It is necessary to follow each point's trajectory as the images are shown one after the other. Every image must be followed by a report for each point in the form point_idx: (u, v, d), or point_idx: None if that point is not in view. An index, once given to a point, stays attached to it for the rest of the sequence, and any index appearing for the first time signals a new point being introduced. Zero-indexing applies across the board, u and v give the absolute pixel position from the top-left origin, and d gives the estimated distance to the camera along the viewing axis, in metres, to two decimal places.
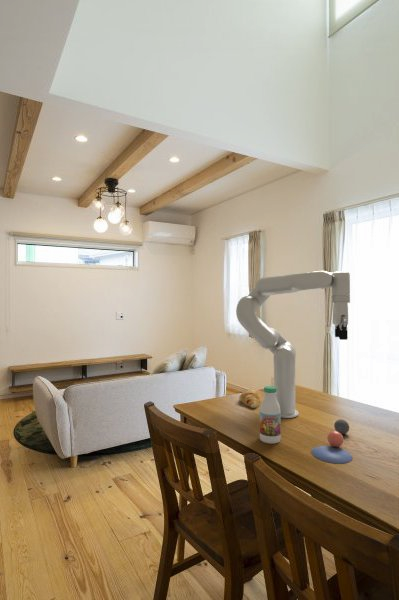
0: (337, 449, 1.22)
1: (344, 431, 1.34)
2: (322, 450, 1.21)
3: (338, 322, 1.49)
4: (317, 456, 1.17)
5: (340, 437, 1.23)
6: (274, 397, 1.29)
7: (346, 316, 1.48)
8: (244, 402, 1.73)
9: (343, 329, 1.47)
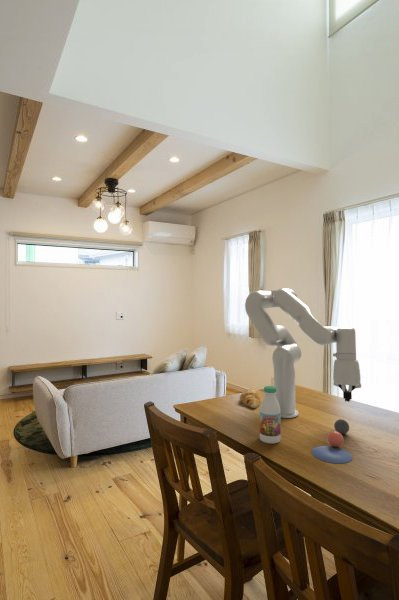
0: (337, 449, 1.22)
1: (344, 431, 1.34)
2: (322, 450, 1.21)
3: (359, 382, 1.40)
4: (317, 456, 1.17)
5: (340, 437, 1.23)
6: (274, 397, 1.29)
7: None
8: (244, 402, 1.73)
9: (352, 390, 1.43)
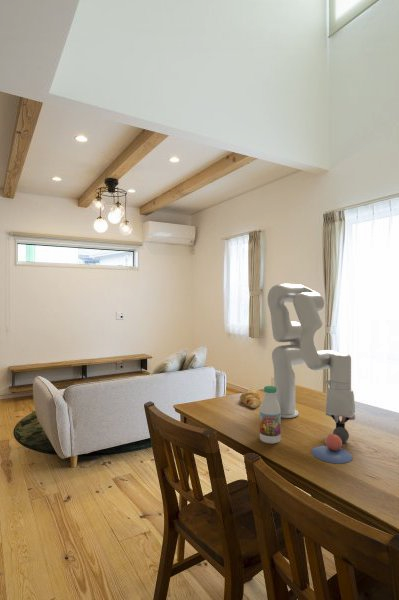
0: None
1: None
2: (322, 450, 1.21)
3: (353, 414, 1.30)
4: (317, 456, 1.17)
5: (338, 447, 1.19)
6: (274, 397, 1.29)
7: (354, 405, 1.33)
8: (244, 402, 1.73)
9: None
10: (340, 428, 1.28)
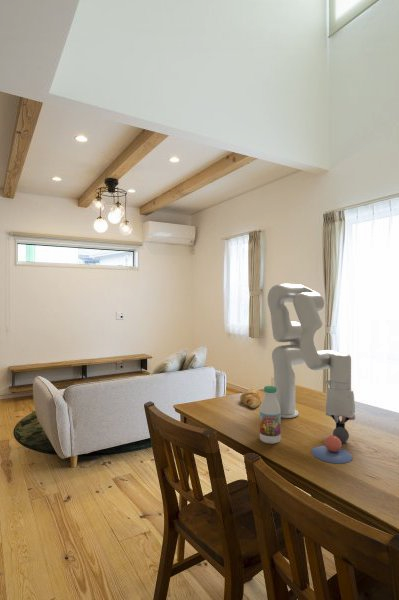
0: None
1: None
2: (322, 450, 1.21)
3: (353, 414, 1.30)
4: (317, 456, 1.17)
5: (338, 450, 1.19)
6: (274, 397, 1.29)
7: (354, 405, 1.33)
8: (244, 402, 1.73)
9: None
10: (340, 428, 1.28)
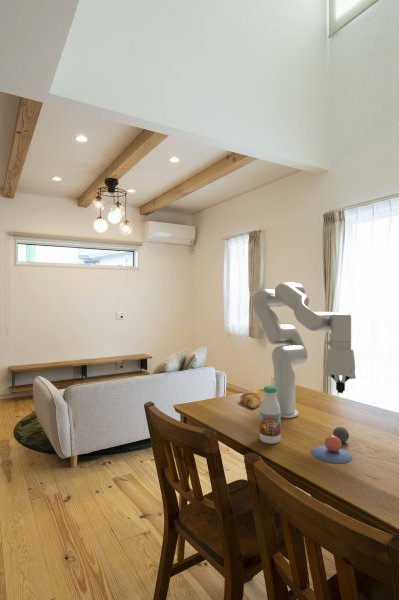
0: None
1: None
2: (322, 450, 1.21)
3: (353, 372, 1.30)
4: (317, 456, 1.17)
5: (338, 450, 1.19)
6: (274, 397, 1.29)
7: None
8: (244, 402, 1.73)
9: (345, 381, 1.33)
10: (340, 428, 1.28)
